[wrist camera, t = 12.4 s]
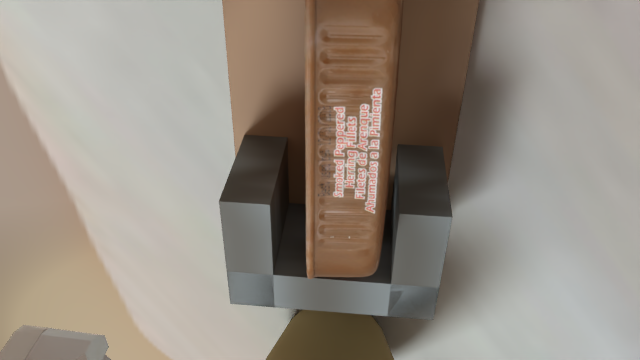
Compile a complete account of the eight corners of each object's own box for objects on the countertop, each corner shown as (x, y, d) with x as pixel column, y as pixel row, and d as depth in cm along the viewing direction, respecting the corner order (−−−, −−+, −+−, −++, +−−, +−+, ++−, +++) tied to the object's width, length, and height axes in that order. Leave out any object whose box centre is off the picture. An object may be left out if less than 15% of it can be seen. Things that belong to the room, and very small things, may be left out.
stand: (524, -315, 18) (579, -343, 13) (434, 228, 31) (444, 324, 26) (207, -317, 19) (137, -345, 14) (247, 214, 32) (219, 305, 27)
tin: (314, -173, 20) (275, -134, 13) (409, -170, 19) (420, -130, 13) (313, 189, 29) (289, 325, 22) (378, 193, 28) (375, 332, 21)
